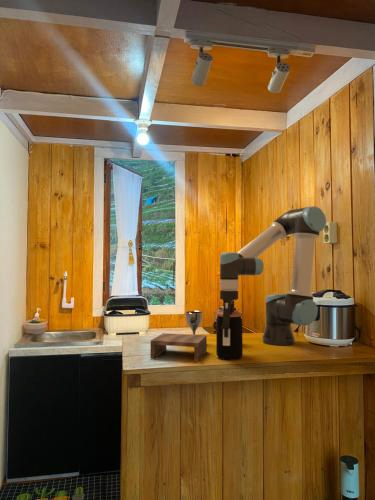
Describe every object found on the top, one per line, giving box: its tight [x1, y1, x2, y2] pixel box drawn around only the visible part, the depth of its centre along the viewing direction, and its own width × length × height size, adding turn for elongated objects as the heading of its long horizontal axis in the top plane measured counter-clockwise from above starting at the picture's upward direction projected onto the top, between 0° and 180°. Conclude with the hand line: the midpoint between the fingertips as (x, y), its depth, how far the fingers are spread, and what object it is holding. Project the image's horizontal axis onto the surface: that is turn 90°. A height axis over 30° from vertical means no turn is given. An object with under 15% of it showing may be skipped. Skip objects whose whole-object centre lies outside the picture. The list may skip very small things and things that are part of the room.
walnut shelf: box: [149, 332, 208, 362], centre depth 156 cm, size 20×16×7 cm
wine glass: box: [185, 310, 203, 335], centre depth 177 cm, size 8×8×15 cm
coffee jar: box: [215, 311, 244, 361], centre depth 152 cm, size 11×11×18 cm
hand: (228, 342), depth 152 cm, fingers open, 13 cm apart
